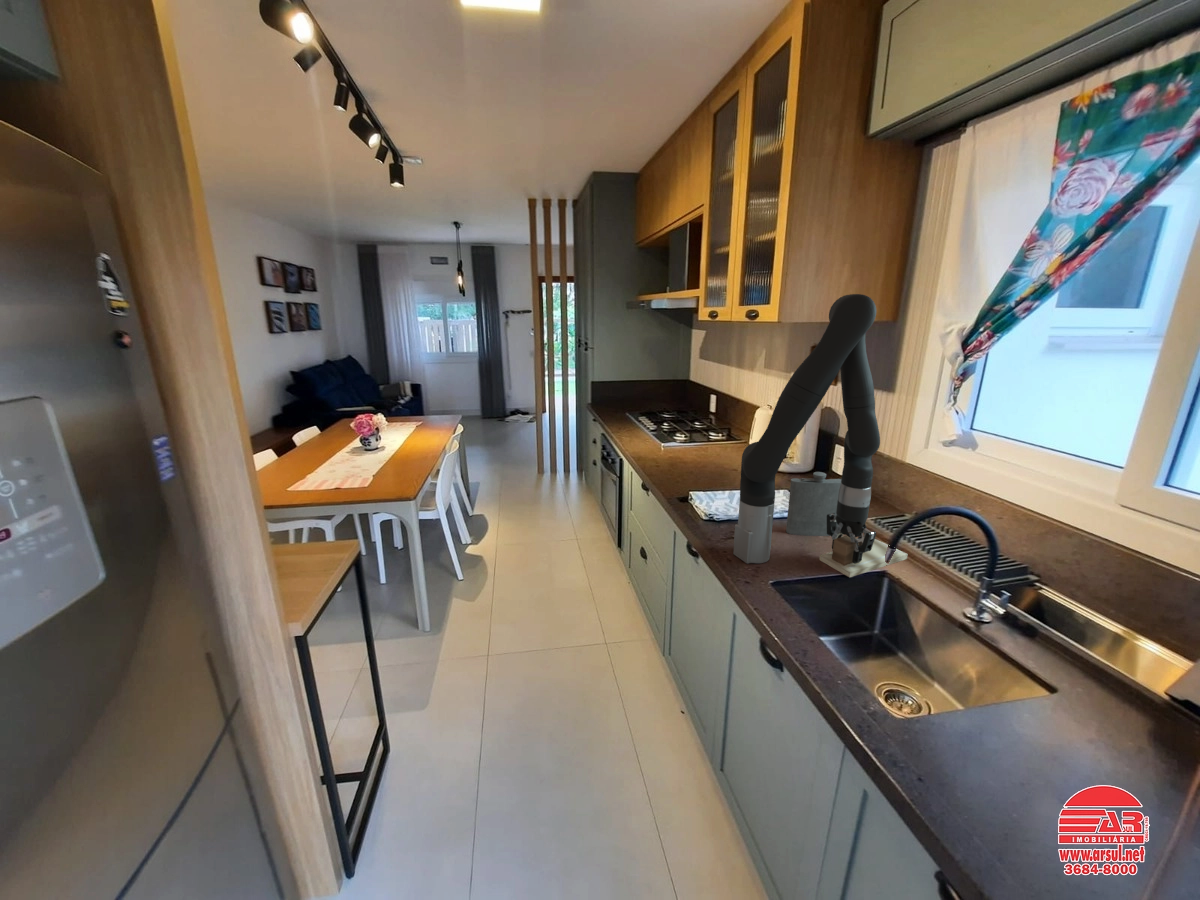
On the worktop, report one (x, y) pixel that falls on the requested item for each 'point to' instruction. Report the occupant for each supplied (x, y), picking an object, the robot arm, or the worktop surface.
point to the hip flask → (811, 504)
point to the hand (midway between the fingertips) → (845, 556)
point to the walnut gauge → (843, 550)
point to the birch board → (865, 560)
